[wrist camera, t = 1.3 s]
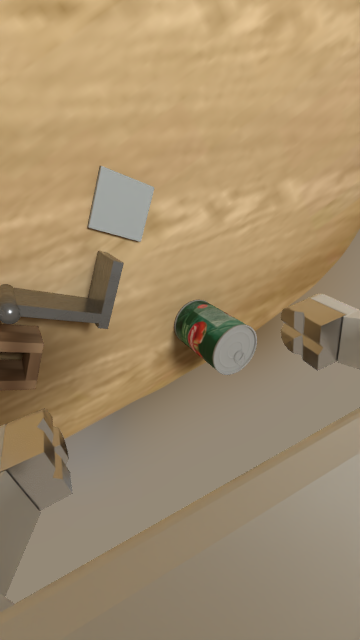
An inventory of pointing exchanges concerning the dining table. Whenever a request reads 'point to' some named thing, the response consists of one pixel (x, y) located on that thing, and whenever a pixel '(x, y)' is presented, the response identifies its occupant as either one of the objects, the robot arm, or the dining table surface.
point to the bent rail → (67, 298)
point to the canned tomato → (216, 336)
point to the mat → (120, 205)
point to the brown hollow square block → (27, 369)
